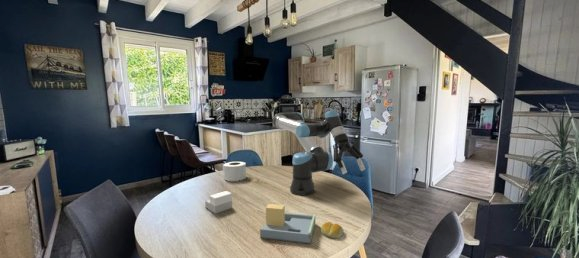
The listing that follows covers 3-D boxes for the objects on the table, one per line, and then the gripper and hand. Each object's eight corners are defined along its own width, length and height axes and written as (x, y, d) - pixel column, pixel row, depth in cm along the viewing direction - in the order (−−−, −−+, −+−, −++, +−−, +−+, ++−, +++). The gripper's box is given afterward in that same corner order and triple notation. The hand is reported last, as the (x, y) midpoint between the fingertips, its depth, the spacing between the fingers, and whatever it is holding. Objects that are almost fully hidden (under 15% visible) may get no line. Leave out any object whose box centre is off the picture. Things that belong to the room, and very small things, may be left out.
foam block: (222, 203, 133) (221, 188, 132) (232, 208, 125) (232, 193, 125) (205, 208, 126) (204, 193, 125) (215, 214, 119) (214, 198, 118)
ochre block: (266, 224, 102) (265, 207, 101) (269, 220, 106) (268, 203, 105) (282, 226, 100) (282, 209, 99) (284, 222, 104) (284, 205, 103)
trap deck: (260, 238, 96) (260, 227, 96) (272, 219, 112) (271, 210, 111) (310, 244, 92) (310, 232, 91) (315, 223, 107) (315, 214, 107)
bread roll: (325, 226, 106) (325, 217, 105) (345, 232, 101) (345, 222, 100) (317, 234, 99) (317, 225, 98) (337, 241, 94) (338, 231, 94)
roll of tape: (228, 174, 184) (228, 161, 183) (248, 175, 183) (248, 161, 181) (220, 181, 169) (220, 166, 168) (242, 181, 167) (242, 166, 166)
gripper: (326, 133, 126) (341, 172, 118) (359, 131, 140) (375, 166, 132) (318, 140, 132) (332, 177, 124) (351, 137, 145) (365, 171, 137)
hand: (354, 171), depth 128 cm, fingers open, 13 cm apart
